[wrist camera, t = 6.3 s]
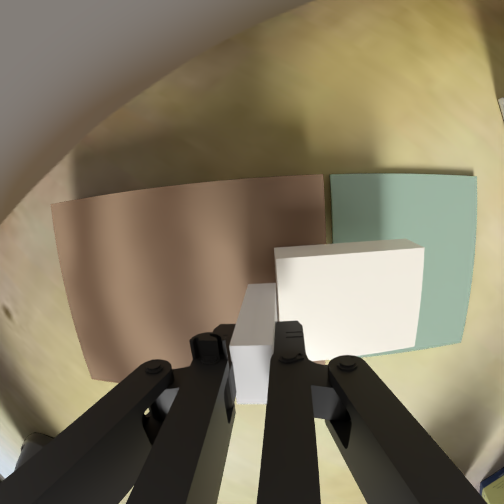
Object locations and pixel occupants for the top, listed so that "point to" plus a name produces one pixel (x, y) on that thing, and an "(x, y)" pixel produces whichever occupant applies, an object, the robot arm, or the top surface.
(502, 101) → the small box
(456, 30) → the top surface
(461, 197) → the mat
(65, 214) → the plate
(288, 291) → the tile
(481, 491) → the protein box
